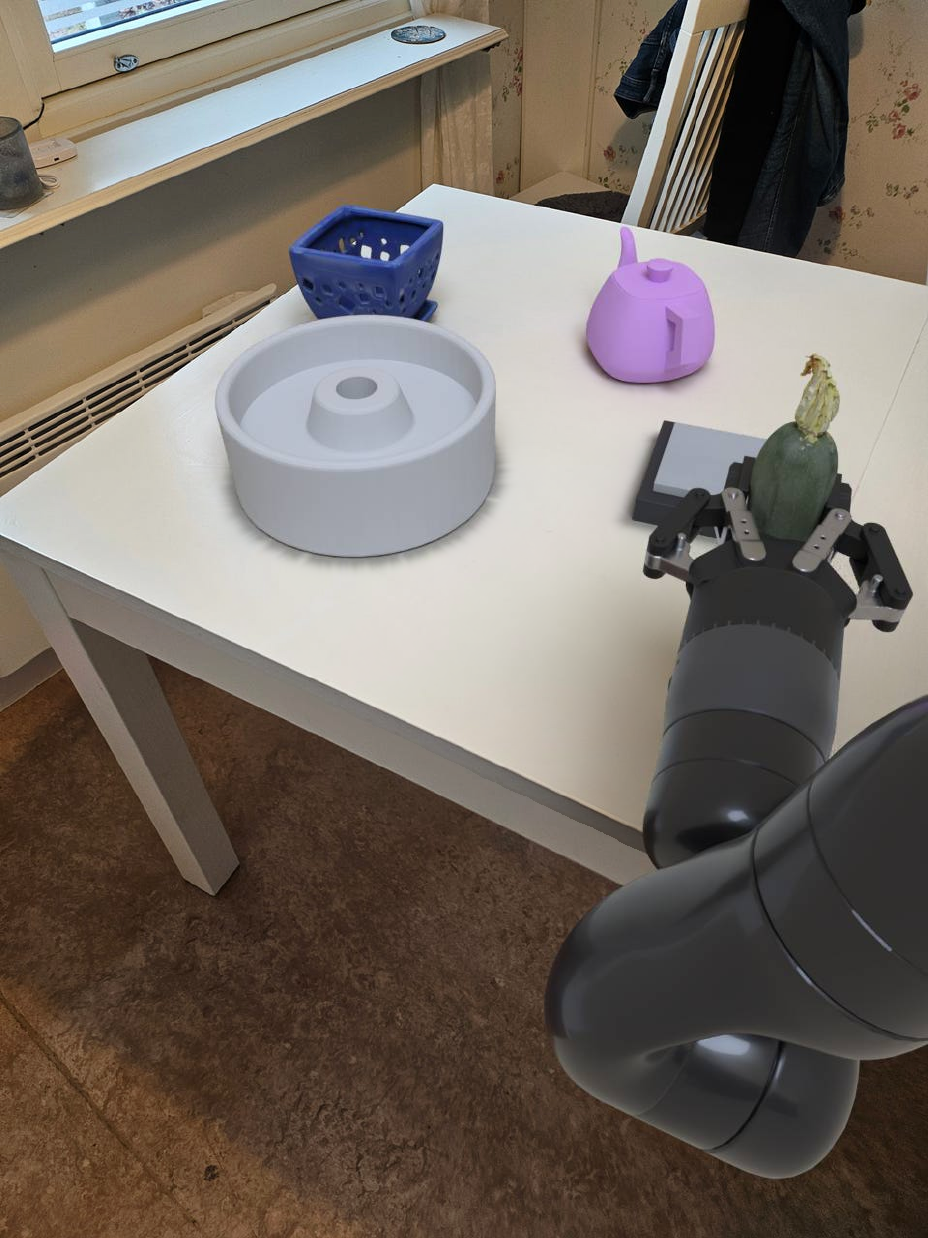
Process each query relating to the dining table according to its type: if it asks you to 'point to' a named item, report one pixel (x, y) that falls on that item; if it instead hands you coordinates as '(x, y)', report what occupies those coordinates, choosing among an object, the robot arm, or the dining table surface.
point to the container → (359, 433)
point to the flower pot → (368, 264)
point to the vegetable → (798, 462)
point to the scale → (688, 467)
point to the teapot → (650, 319)
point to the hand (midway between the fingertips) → (787, 476)
